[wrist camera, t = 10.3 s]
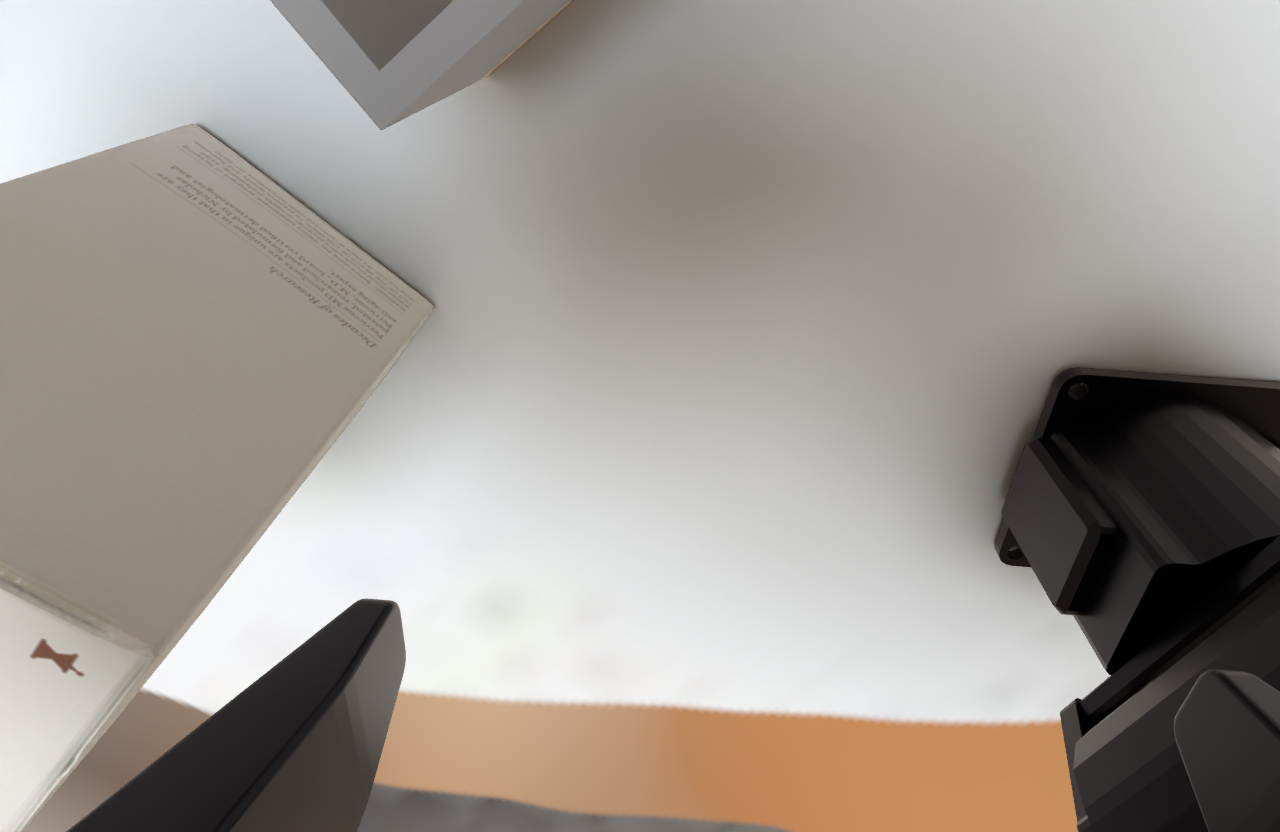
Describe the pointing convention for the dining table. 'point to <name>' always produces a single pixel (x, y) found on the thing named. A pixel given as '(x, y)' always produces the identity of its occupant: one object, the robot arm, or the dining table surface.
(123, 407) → the supplement box
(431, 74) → the carton
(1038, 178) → the dining table surface
